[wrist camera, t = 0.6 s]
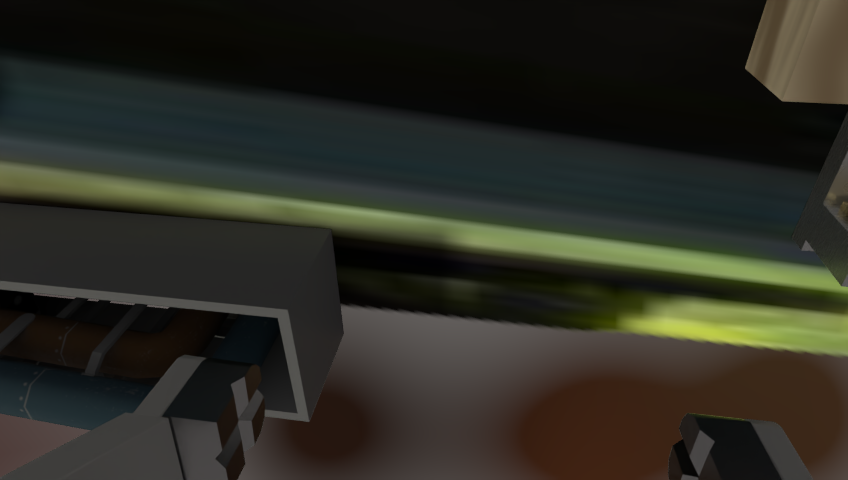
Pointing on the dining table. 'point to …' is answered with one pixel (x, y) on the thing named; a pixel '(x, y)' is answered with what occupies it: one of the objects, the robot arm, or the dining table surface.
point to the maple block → (803, 50)
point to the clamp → (106, 356)
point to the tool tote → (186, 282)
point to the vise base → (829, 211)
